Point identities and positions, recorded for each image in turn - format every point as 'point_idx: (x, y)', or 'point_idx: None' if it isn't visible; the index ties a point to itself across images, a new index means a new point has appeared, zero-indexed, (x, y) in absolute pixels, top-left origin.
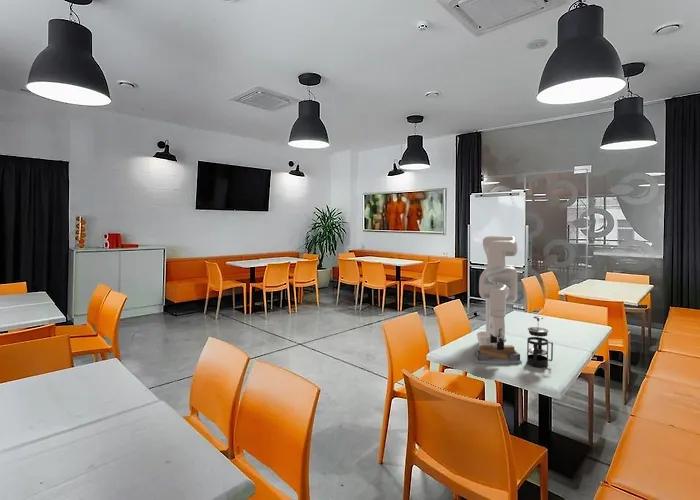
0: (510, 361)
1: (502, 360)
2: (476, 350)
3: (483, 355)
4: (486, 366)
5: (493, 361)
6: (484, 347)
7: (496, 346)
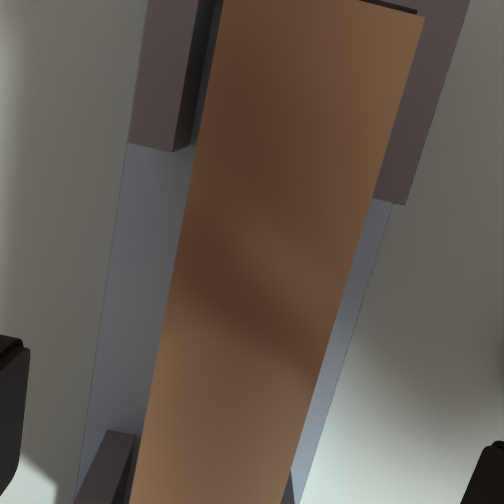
0: (87, 425)
1: (122, 342)
2: (441, 3)
3: (148, 24)
4: (4, 5)
5: (120, 199)
6: (211, 79)
7: (202, 424)
